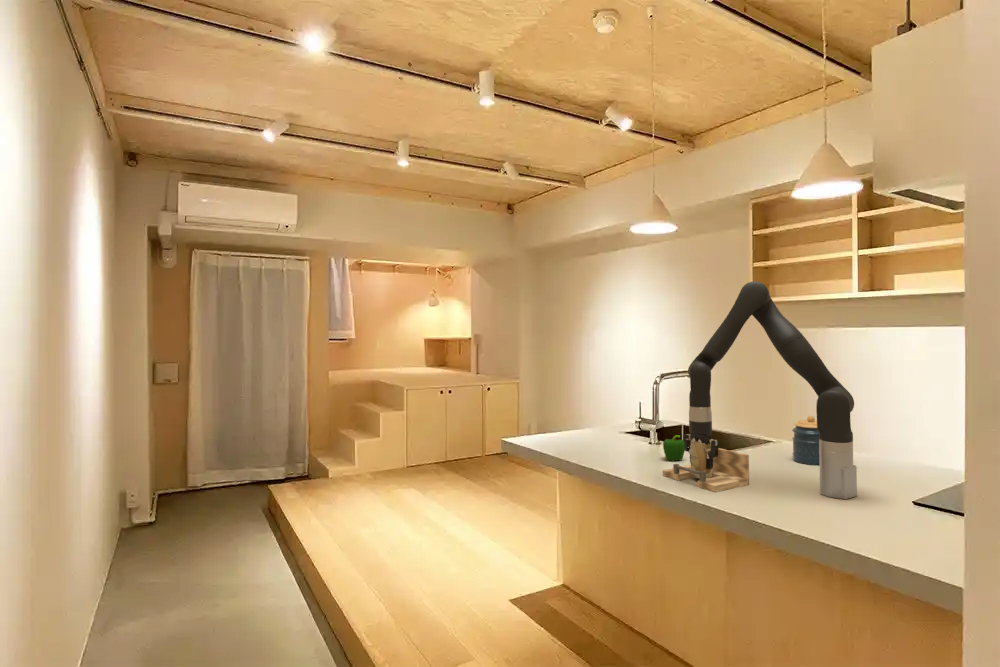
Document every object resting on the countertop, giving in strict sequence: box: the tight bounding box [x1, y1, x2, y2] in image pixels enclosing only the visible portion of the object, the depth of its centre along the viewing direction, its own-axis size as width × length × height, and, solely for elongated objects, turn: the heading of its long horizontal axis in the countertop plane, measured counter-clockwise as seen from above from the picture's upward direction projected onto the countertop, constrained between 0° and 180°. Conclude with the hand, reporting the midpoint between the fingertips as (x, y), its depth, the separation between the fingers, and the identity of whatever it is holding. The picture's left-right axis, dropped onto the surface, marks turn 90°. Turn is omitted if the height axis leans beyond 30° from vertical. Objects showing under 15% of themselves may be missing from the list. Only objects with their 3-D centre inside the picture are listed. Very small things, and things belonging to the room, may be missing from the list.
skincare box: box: [690, 440, 712, 479], centre depth 202 cm, size 6×4×12 cm
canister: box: [791, 415, 820, 466], centre depth 224 cm, size 13×13×18 cm
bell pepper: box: [662, 434, 686, 462], centre depth 232 cm, size 8×8×10 cm
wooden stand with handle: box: [662, 447, 750, 493], centre depth 203 cm, size 24×16×10 cm, turn 28°
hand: (701, 466), depth 202 cm, fingers closed on skincare box, 6 cm apart
